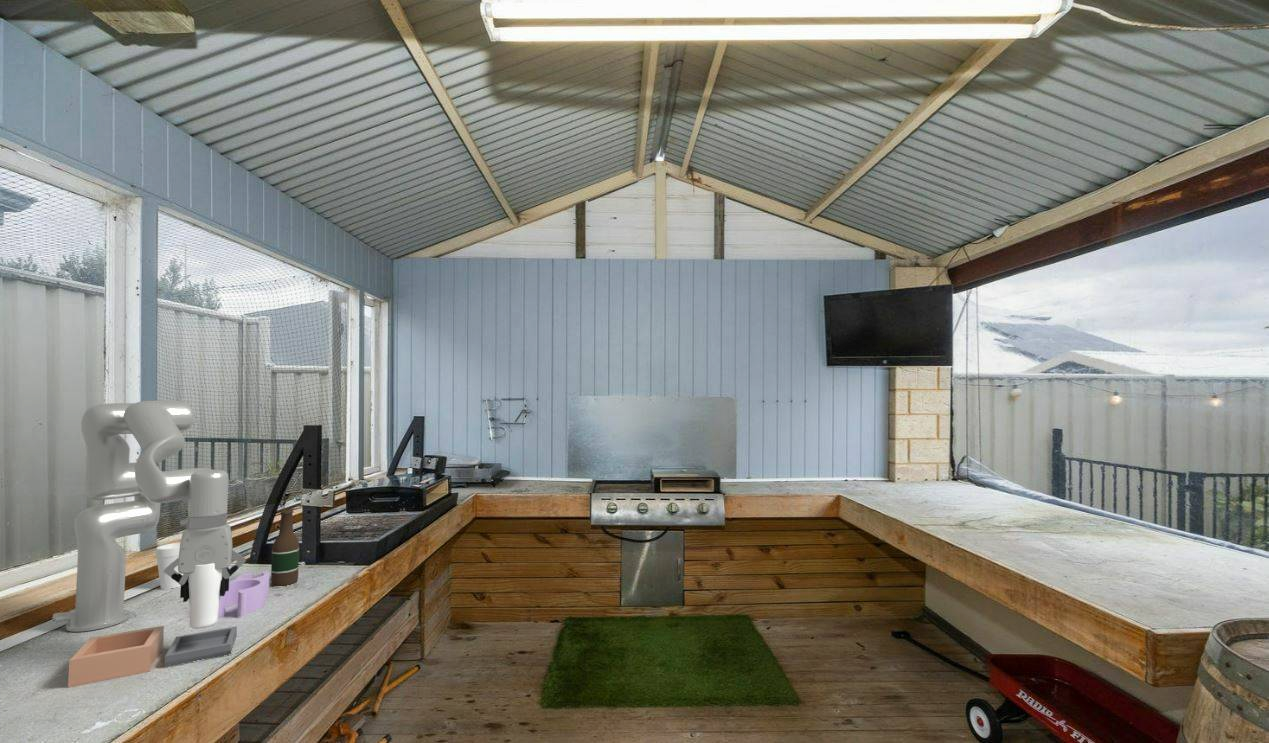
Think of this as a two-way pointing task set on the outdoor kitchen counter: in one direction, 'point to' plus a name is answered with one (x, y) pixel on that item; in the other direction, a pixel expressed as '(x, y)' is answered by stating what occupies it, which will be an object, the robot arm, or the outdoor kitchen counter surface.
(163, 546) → the foam cup
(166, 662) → the charcoal tray
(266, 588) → the clip
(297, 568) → the beer bottle
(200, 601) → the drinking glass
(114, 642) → the terracotta holder
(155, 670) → the outdoor kitchen counter surface
